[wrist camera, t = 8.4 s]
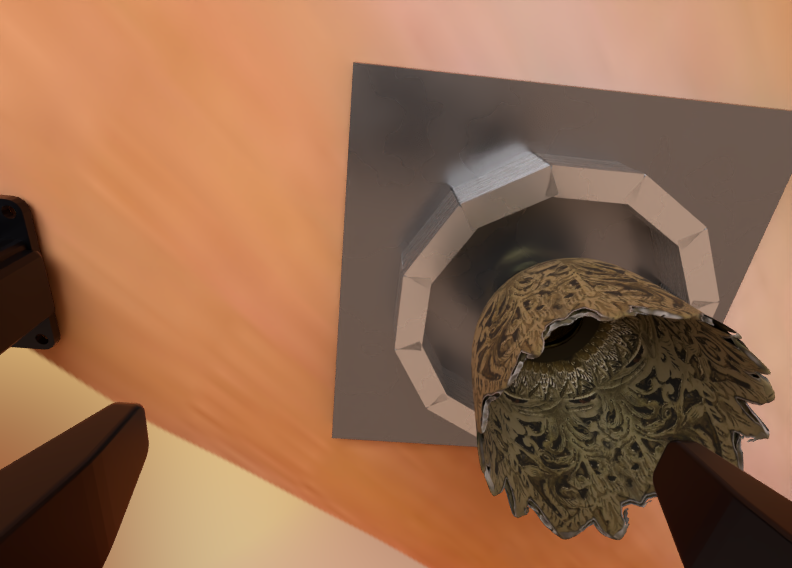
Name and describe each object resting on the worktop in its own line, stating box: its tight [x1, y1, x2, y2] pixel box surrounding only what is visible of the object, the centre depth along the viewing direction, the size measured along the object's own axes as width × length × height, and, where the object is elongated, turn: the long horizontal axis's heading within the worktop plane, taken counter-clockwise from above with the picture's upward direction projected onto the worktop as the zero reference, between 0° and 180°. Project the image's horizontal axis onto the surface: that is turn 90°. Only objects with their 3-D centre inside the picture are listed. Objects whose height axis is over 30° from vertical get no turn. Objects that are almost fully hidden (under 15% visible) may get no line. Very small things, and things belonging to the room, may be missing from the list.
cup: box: [471, 258, 775, 540], centre depth 16 cm, size 8×7×8 cm
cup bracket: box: [332, 62, 792, 447], centre depth 19 cm, size 16×16×3 cm
